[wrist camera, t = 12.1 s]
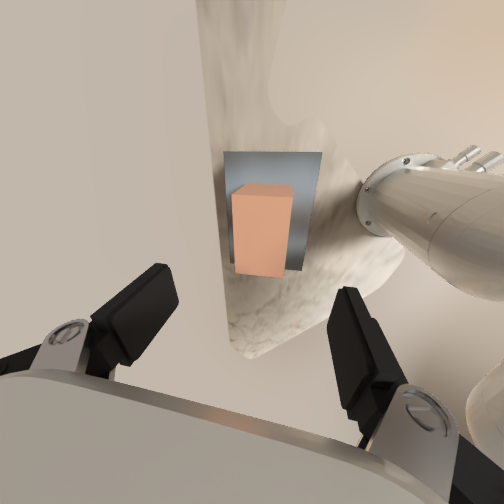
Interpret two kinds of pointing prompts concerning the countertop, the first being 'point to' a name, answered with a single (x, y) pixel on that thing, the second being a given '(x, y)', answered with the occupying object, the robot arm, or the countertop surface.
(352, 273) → the countertop surface
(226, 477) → the robot arm
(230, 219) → the shiny metal block
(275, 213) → the terracotta brick
